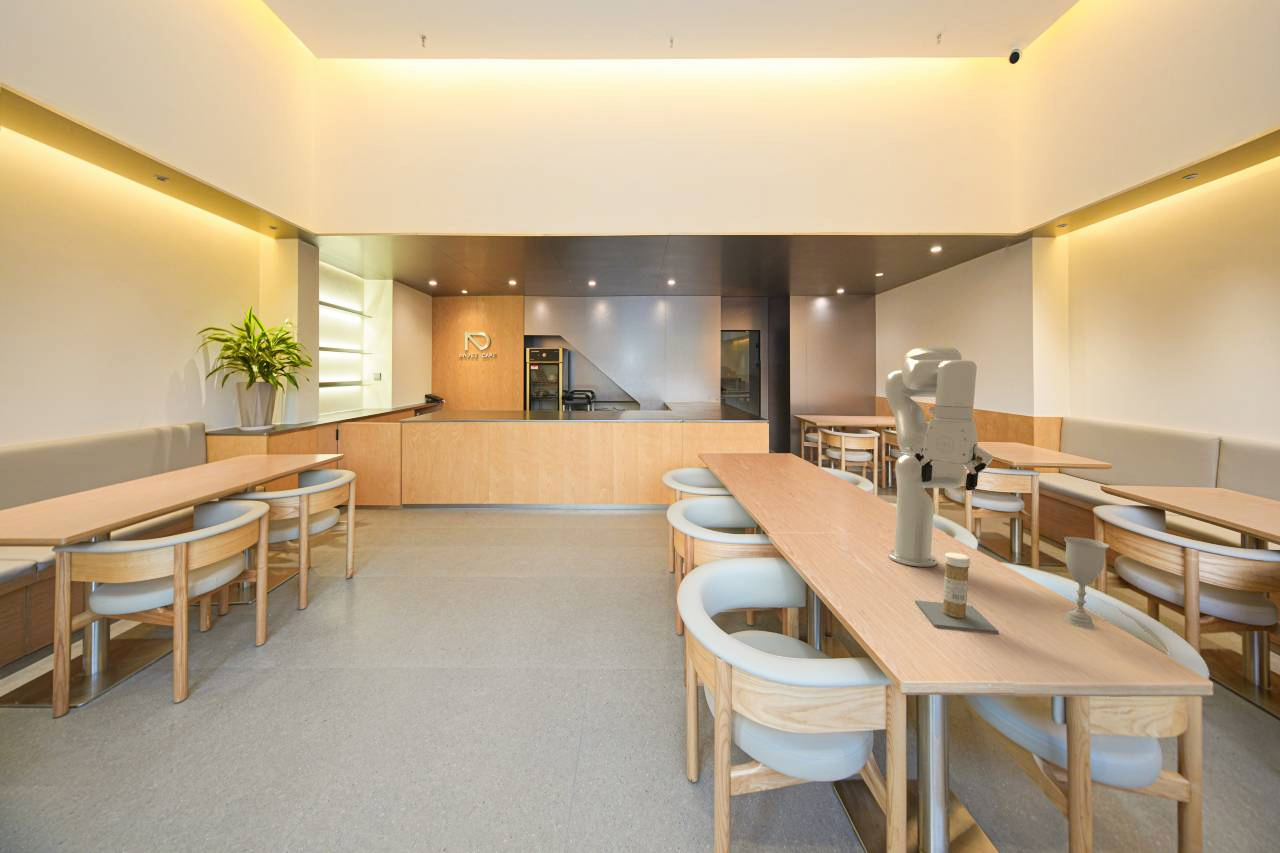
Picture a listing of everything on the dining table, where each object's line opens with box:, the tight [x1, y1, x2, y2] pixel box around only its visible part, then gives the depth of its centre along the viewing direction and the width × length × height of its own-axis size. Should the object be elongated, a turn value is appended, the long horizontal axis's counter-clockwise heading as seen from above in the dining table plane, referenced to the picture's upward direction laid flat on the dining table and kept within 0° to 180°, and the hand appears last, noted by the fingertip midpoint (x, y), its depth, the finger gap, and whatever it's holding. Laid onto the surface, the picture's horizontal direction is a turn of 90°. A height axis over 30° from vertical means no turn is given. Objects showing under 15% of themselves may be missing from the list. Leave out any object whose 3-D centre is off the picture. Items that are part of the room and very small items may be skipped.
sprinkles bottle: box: [942, 552, 971, 618], centre depth 107 cm, size 5×5×13 cm
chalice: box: [1063, 536, 1110, 629], centre depth 105 cm, size 7×7×18 cm
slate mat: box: [914, 599, 999, 635], centre depth 107 cm, size 12×12×1 cm
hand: (947, 485), depth 114 cm, fingers open, 9 cm apart
